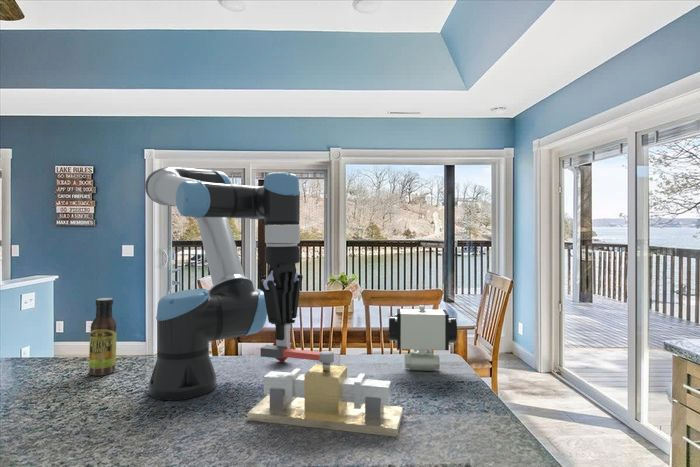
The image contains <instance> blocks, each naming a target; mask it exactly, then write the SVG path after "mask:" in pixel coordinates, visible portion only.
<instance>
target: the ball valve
mask: <svg viewBox="0 0 700 467" xmlns="http://www.w3.org/2000/svg"><path fill="white" fill-rule="evenodd" d="M418 307H419V309H418V308H416V309H415V308H414V309H413V308H410V309H409V308H397V309H396V313H395V314H394V315H388V341H389V342H391V341H392V342H395V343H394V344H396V347H397V348H396V349H397V350H413V352H409V353H404V368H405V369H406V370H407V369H408V370H409V369H410V371H427V372H434V371H435V370H436V371H437V370H440V366H441V363H440V362H441V361H440V355H439V354H434V352H433V353H432V351H450V348H449V347H450V346H451V344H452V343H457V339H458V323H457V318H456V317H454V316H450V313H448V311H447V310H446V309H426V308H425V305H424V304H423V305H422V304H420V305H418Z"/></svg>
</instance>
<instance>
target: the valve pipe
mask: <svg viewBox="0 0 700 467" xmlns="http://www.w3.org/2000/svg"><path fill="white" fill-rule="evenodd" d="M263 394H264V395H266V396H264V398H262V399H261V400H259V402H258V403H257V404H255V405H254V406H253V407H252V408H251V409H250V410H249V411H248V412H247V421H252V422H255V421H256V422H262V423H269V424H270V423H271V424H278V425H279V424H281V425H287V426H288V425H289V426H297V427H306V428H315V429H325V430H331V431H341V432H351V433H358V434H359V433H360V434H368V435H378V436H386V437H395V438H397V437H398V433H399V430H400V425H401V421H402V419H403V415H402V414H403V412H404V411H403V410H404V409H403V408H404V407H403V406H396V405H390V402H391V400H392V381H391V380H380V379H369V378H366V373H359V374H358V375H357V377H348V366H345V365H331V363H322V364H321V363H319V364H316V363H315V364H313V366H312V367H311V368H310V369H308V370H307V372H306V373H302V368H297V367H296V368H294V369H293V370H292V371H291V372H284V371H269V372H268V373H266V374H265V375H264V376H263Z"/></svg>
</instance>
